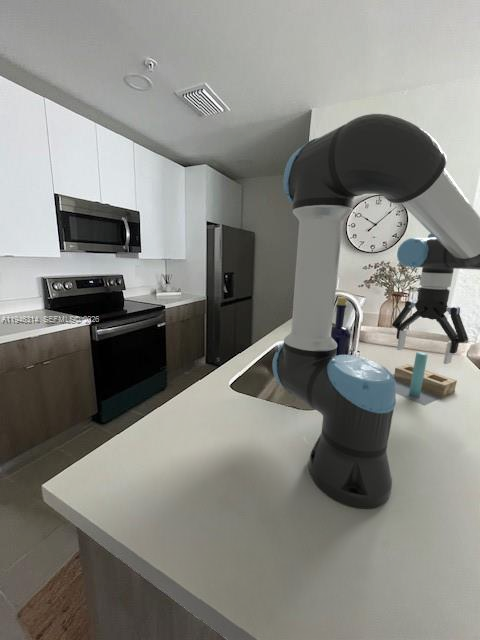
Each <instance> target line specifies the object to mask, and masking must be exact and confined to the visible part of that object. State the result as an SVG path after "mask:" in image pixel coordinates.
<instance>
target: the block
mask: <svg viewBox="0 0 480 640" xmlns="http://www.w3.org/2000/svg"><path fill="white" fill-rule="evenodd" d="M413 368H414V365H413V364H412V365H411V364H409V363H407V364H403V365H401V366H396V367H395V368H394V373H393V374H394V378H395V379H398V380H400V381H403V382H406V383H408V384H411V379H412V374H413ZM457 381H458V380H456V379H454V378H451V377H448V376H445V375H442V374H438V373H437V372H436V373H435V372H433V371H429V370H428V369H427V370H426V369H425V372H424V377H423V383H422V388H421V389H423V390H426V391H428V392H431V393H434V394H436V395H439V396H441V397H442V398H444V397H447V396H449V395H451V394H453V393H455V392H456V386H457ZM450 393H451V394H450ZM448 394H449V395H448Z"/></svg>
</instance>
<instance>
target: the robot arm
mask: <svg viewBox="0 0 480 640" xmlns="http://www.w3.org/2000/svg"><path fill="white" fill-rule="evenodd" d="M446 166H447V155H446V153H445V152H444V150H443V149H442V148H441V146H440V145H439V143H438V141H437V140H436V139H434V138H433V137H432V136H431V135H430V134H429V133H428V132H427V131H425V130H424V129H422V128H420V127H419V126H417V125H416V124H415V123H412V122H410V121H408V120H405V119H403V118H400V117H398V116H395V115H391V114H385V113H384V114H383V113H369V114H364V115H361V116H358V117H355V118H354V119H351V120H349V121H348V122H347V123H345V124H343V125H341V126H339V127H337V128H335V129H333V130H331V131H329V132H327V133H326V134H323V135H321V136H319V137H316V138H313V139H311V140H309V141H307V142H306V143H305V144H303V145H302V146H301V147H300V148H298V149H297V150H295V151H294V153H293V154H292V155H291V156H290V158H289V159H288V161H287V163H286V166H285V168H284V173H283V188H284V193H285V195H287V199H288V201H289V202H290V203H291V204H292V214H293V215H294V216H295V217H296V218H297V220H298V221H299V223H298V236H297V248H296V249H297V251H296V253H297V254H296V260H295V261H296V262H295V263H296V264H295V277H294V289H293V302H292V303H293V304H292V318H291V330H290V332H289V334H287V335H286V336H285V337H284V338H283V343H282V344H281V345H279V347H278V351H275V353H274V356H273V359H272V372H273V376H274V379H275V380H276V382H277V383H278V384H279V385H280V386H281V387H282V388H283V389H284V390H285V391H287V393H289V394H291V395H294V396H295V397H296V398H298V400H299V399H300V400H301V401H302V402H304V404H307V405H308V406H310V407H311V408H312V409H314V410H316V411H317V412H318V413H319V414H321V416H322V422H321V423H322V424H321V425H322V426H321V432H320V434H319V436H318V438H317V439H316V442H315V444H314V446H313V447H312V450H311V452H310V453H309V454H310V455H309V460H308V461H309V463H308V471H309V475H310V476H311V479H312V481H313V482H314V484H315V485H316V486H317V487H318V488H319V490H321V491H322V492H323V493H324V494H325V495H327V496H328V497H330V498H331V499H333V500H334V501H336V502H338V503H341V504H343V505H346V506H349V507H352V508H357V509H373V508H374V509H375V508H377V507H380V506H382V505H384V504H386V502H387V501H388V500H389V499H390V496H391V493H392V492H391V490H392V486H393V478H392V477H393V476H392V474H391V470H390V465H389V464H390V463H389V459H388V454H387V448H388V444H389V443H388V442H389V438H390V433H391V432H390V431H391V426H392V421H393V416H394V410H395V407H396V405H397V404H396V402H397V397H396V396H397V393H396V382H395V380H394V377H393V373H391V372H390V371H389V370H388V369H387V368H386V367H385V366H383V365H382V364H380V363H378V362H376V361H374V360H371V359H369V358H366V357H364V356H363V357H362V356H361V357H359V356H357V355H354V354H349V355H337V356H336V352H337V343H336V342H335V341H334V339H333V338H332V337H331V329H332V326H333V320H334V319H333V318H334V310H335V301H336V290H337V281H338V271H339V263H340V254H341V243H342V235H343V234H342V233H343V225H344V221H345V219H346V218H348V217H349V216H350V215H351V214H352V213H353V208H354V201H355V197H358V196H359V197H360V196H363V195H365V194H366V195H371V194H372V195H380V196H383V197H384V198H385V199H386V200H387V201H388V202H389V203H392V204H397V205H400V204H401V205H402V206H403V207H404V208H405V209H406V210H407V212H409V213H410V214H411V215H412V216H413V217H414V218H415V219H416V220H417V221H418V223H420V224H421V225H422V226H423V227H424V228H425V229H426V230H427V231H428V232H429V234H428V235H427V237H426V238H425V237H411V238H408V239H406V240H403V242H402V243H401V244H400V245H399V247H398V248H397V253H396V257H397V261H398V262H399V263H400V265H402V266H404V267H405V268H406V267H408V268H414V269H415V268H421V275H420V279H419V286H420V287H419V288H418V292H417V301H414V300H413V299H412V300H407V301H405V303H404V307H403V309H402V310H401V311H400V313H399V314H398V315H397V317H396V318H395V319H394V321H393V322H392V324H391V326H392V327H393V328H395V329H396V330H397V331H396V340H398V342H397V348H396V350H398V351H402V350H404V349H405V344H406V337H407V332H408V330H407V329H406V328H407V327H409V326H410V325H411V324H412V323H413V322H415V321H417V320H418V319H419V318H420V317H421V319H428V320H432V321H433V320H435V321H436V322H437V323H438V324H439V325H440V327H441V328H442V330H443V331H444V333H445V334H446V336H447V337H448V339H449V341H447V343H446V347H445V348H446V349H445V354H444V359H443V364H445V365H447V364H451V363H452V360H453V359H452V358H453V355H454V354H456V353H457V352H458V348H459V345H460V343H465V342H468V341H469V336H468V334H467V332H466V329H465V327H464V323H463V321H462V318H461V316H460V315H461V314H460V313H461V307H459V306H454V307H452V306H448V301H449V298H450V297H449V296H450V289H449V288H450V287H452V286H451V285H452V280H453V275H454V269H457V270H459V269H461V270H479V271H480V215H479V213H478V212H477V211H476V210H475V209H474V207H473V205H472V204H471V203H470V201H469V200H468V199H467V197H466V196H465V195H464V193H463V191H462V190H461V189H460V187H459V186H458V185H457V184H456V182H455V181H454V179H453V178H452V176H451V175H450V174H449V172H448V171H447V170H446ZM413 308H415V309H416V311H415V312H413V313H412V314H411V316H409V317H408V318H407V319H406V317H407V316H408V314H409V313H410V312H411V311H412V309H413ZM447 312H448V315H450V319H451V322H452V324H453V327H452V325H451V323H450V322H449V320H448V318H447V316H446V315H445V313H447Z"/></svg>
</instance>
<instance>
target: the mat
mask: <svg viewBox="0 0 480 640" xmlns="http://www.w3.org/2000/svg"><path fill="white" fill-rule="evenodd" d="M392 375H393V377H394V373H392ZM394 380H395V382H396V395H399V396H402V397H404V398H407V399H408V400H411V401H412V402H415V403H417V404H420V405H423V406H426V405H427V406H428V405H429V404H431V403H433V402H435V401H437V400H440V399H441V398H443V397H441V396H439V395H436V394H434V393H431V392H428V391H426V390H423V389H421V393H420V397H413V396H411V395H409V391H410V385H411V384H408V383H406V382H403V381H400V380H398V379H395V378H394ZM451 394H452V393H450V394H448V395H447V396H449V395H451Z"/></svg>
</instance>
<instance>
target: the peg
mask: <svg viewBox="0 0 480 640" xmlns="http://www.w3.org/2000/svg"><path fill="white" fill-rule="evenodd" d="M428 356H429V355H428V353H424V352H419V351H418V352H416V353H415V358H414V364H413V366H414V368H413V374H412V379H411V385H410V391H409V395H411V396H413V397H420V393H421V388H422V383H423V377H424V372H425V370H426V366H427V360H428Z"/></svg>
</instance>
